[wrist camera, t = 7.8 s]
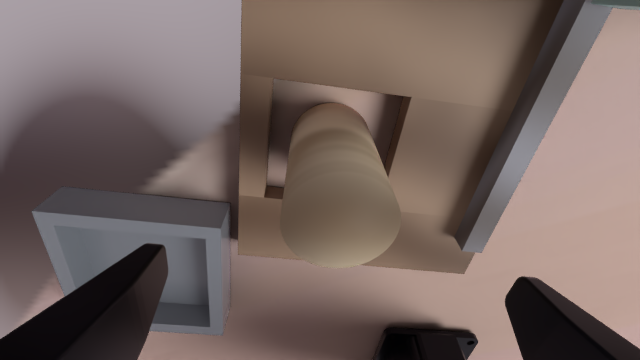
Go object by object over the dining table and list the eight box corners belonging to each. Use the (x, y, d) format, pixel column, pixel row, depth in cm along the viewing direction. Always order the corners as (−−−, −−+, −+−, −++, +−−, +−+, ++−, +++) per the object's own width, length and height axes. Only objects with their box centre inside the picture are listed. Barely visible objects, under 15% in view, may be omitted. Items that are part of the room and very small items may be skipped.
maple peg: (361, 179, 16) (384, 272, 11) (287, 171, 16) (275, 263, 10) (377, 108, 14) (416, 180, 9) (295, 97, 14) (285, 165, 9)
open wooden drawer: (457, 260, 19) (471, 288, 17) (241, 241, 18) (233, 269, 16) (671, -175, 10) (748, -209, 8) (252, -273, 9) (238, -338, 7)
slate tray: (230, 306, 20) (223, 335, 19) (96, 296, 20) (76, 326, 18) (230, 203, 16) (220, 228, 15) (62, 186, 16) (31, 211, 14)
